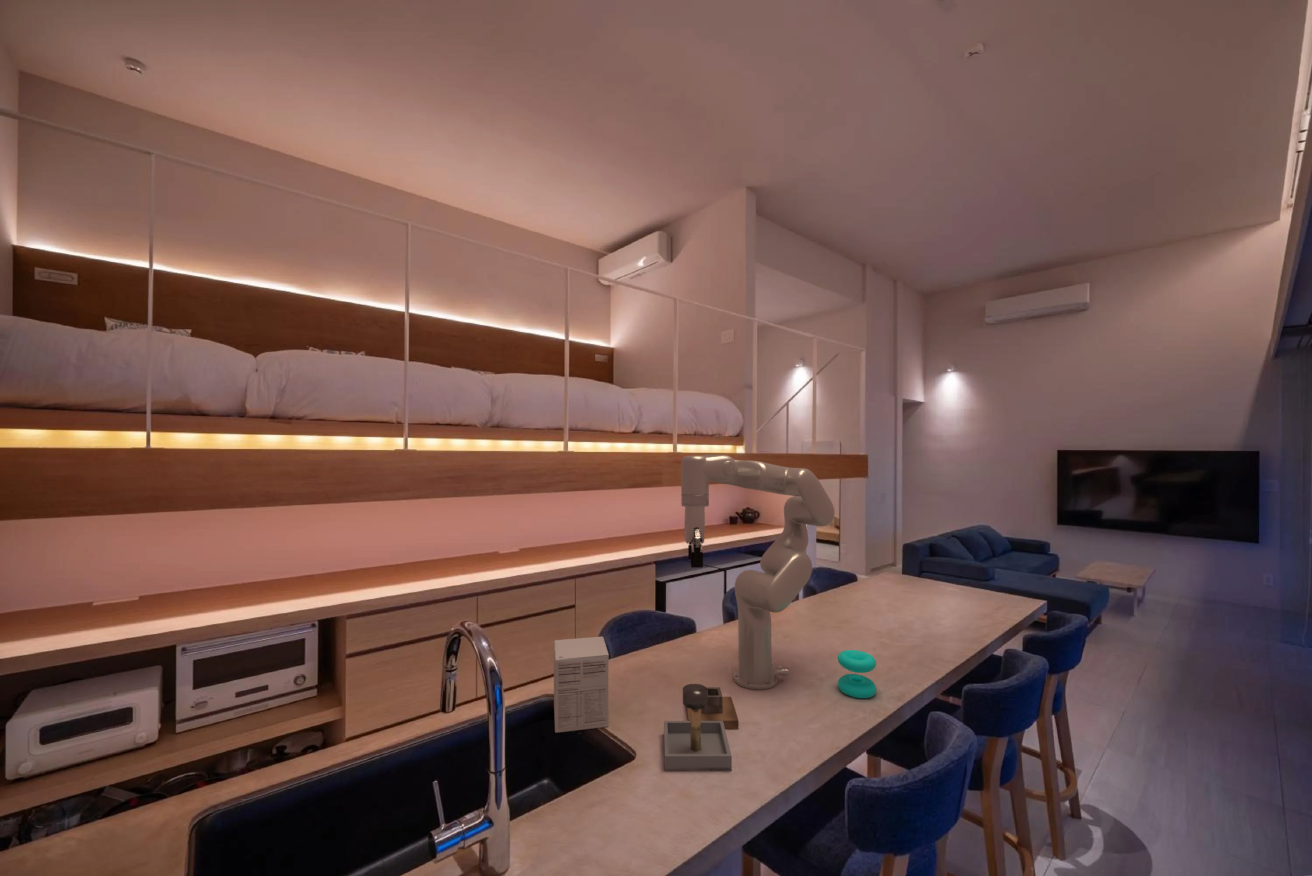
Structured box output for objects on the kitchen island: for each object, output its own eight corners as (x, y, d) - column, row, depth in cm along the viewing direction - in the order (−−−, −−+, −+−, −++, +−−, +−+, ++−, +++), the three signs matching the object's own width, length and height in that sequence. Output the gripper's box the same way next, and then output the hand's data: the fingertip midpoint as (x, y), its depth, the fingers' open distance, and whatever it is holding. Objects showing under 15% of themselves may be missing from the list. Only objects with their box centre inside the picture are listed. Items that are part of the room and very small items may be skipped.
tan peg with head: (682, 741, 117) (682, 683, 118) (707, 741, 117) (706, 683, 118) (683, 755, 112) (683, 695, 112) (709, 755, 112) (708, 695, 112)
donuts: (866, 666, 136) (831, 655, 143) (867, 704, 136) (831, 691, 143) (882, 655, 143) (847, 645, 150) (882, 691, 142) (847, 680, 150)
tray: (723, 733, 122) (722, 720, 122) (731, 770, 108) (731, 756, 108) (664, 733, 122) (664, 721, 122) (665, 770, 108) (664, 756, 108)
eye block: (731, 704, 136) (731, 681, 136) (738, 729, 124) (738, 703, 124) (685, 704, 136) (685, 681, 136) (688, 729, 124) (688, 704, 124)
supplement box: (609, 727, 125) (609, 654, 125) (554, 734, 122) (554, 659, 122) (603, 701, 137) (603, 635, 138) (553, 706, 135) (553, 639, 135)
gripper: (679, 497, 149) (680, 556, 149) (683, 504, 132) (683, 570, 132) (705, 497, 149) (706, 556, 149) (712, 503, 132) (712, 570, 132)
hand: (695, 563), depth 140 cm, fingers open, 9 cm apart
